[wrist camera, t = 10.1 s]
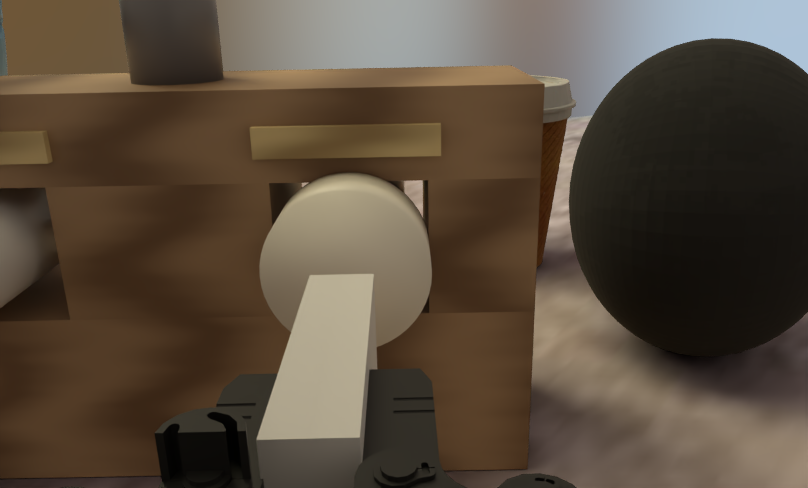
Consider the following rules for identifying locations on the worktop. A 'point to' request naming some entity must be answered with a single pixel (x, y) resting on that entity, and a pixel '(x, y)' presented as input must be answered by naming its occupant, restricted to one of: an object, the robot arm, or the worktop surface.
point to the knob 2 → (350, 248)
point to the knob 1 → (24, 240)
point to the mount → (256, 248)
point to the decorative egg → (698, 198)
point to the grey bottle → (172, 41)
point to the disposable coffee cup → (551, 147)
